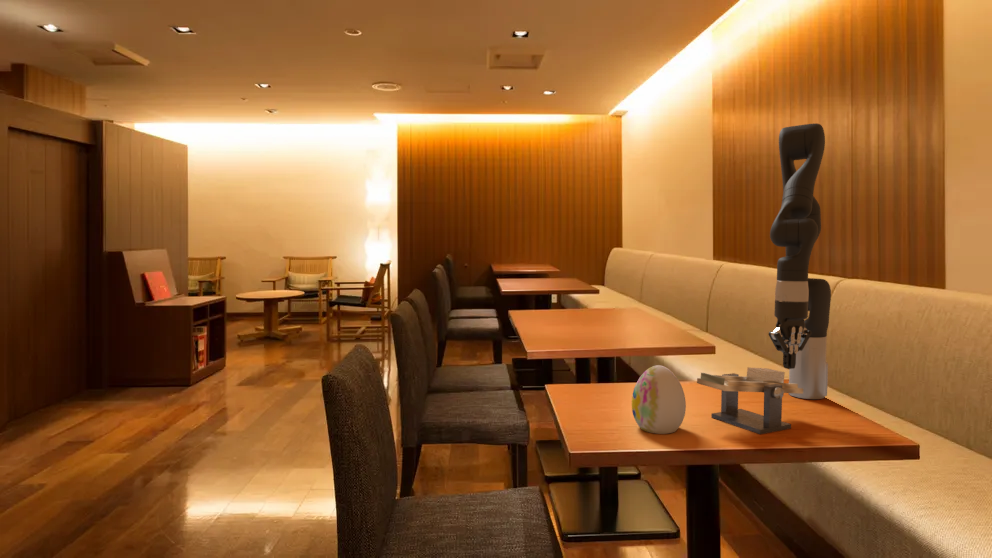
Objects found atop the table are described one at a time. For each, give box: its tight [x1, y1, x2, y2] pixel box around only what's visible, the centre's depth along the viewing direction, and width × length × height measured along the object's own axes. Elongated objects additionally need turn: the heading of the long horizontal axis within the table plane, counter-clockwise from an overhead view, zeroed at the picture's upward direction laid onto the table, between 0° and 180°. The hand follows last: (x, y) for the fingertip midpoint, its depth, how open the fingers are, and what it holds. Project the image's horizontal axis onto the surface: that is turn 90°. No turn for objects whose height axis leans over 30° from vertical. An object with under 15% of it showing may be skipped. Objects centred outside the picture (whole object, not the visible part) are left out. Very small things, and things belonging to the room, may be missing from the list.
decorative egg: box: [631, 364, 687, 435], centre depth 147 cm, size 12×12×15 cm
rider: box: [745, 366, 786, 383], centre depth 153 cm, size 7×5×4 cm
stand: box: [711, 372, 792, 435], centre depth 151 cm, size 10×17×10 cm, turn 25°
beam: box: [696, 372, 804, 394], centre depth 151 cm, size 26×11×3 cm, turn 116°
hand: (789, 368), depth 156 cm, fingers closed
